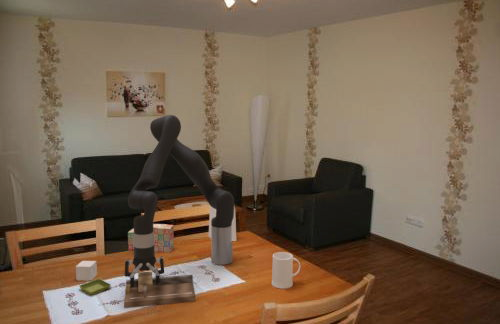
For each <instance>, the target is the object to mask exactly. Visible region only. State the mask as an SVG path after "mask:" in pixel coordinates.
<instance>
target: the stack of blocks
mask: <svg viewBox="0 0 500 324" xmlns="http://www.w3.org/2000/svg"><path fill="white" fill-rule="evenodd" d="M153 232H154V241H155V243H154V246H155V253H168V254H169V253H171V252H172V251H173V250H174V249H175V247H174V245H175V244H174V242H175V240H174V239H175V235H174V232H175V229H174V224H165V223H153ZM133 237H134V228H132V229H130V230H129V231H128V232H127V244H128V245H127V246H128V249H127V250H128V251H134V245H133ZM173 248H174V249H173Z"/></svg>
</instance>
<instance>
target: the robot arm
mask: <svg viewBox="0 0 500 324" xmlns="http://www.w3.org/2000/svg"><path fill="white" fill-rule="evenodd" d="M149 128H150V132H151V134H152V136H153V138H154V139H155V140H156V141H157V145H156V146H155V147H154V149H153V150H152V152H151V154H149V156H148V158H147V159H146V161H145V163H144V166H143V168H142V170H141V174H140V177H139V179H138V180H137V181H136V183H135V184H134V186H133V188H132V189H131V191H129V195H128V198H127V204H128V206H129V207H130V208H131V209H132V210H135V211H136V210H137V211H143V214H142V215H137V216H135V217H134V219H133V229H134V237H133V245H134V250H133V259H129V258H125V261H124V277H125V278H127V277H128V278H129V280H130V285H131V286H132V287H134V285H135V283H134V279H135V275H136V274H137V273H139V272H138V271H140V272H150V270H151V271H152V273H153V274H155V278H156V285H158V283H159V282H160V277H161V276H160V275H164V273H165V263H164V256H160V257H156V256H155V255H156V254H155V253H156V252H155V246H154V243H155V241H154V232H153V224H154V220H155V214H156V211H157V206H158V201H159V200H158V196H157V194H156V193H155V192H153V191H148V190H150V189H154V188H156V187H158V185H159V184H160V180H161V177H162V174H163V171H164V167H165V165H166V162H167V160H168V157H169V155H170V156H171V157H172V158H173V159H174V160H175V161H176V162H177V164H178V165H179V166H180V167H181V169H182V171H183V172H184V173H185V174H186V175H187V177H188V178H189V179H190V180H191V182H193V184H194V185H195V186H196V187H197V188H198V189H199V191H200V192H201V194H202V195H203V197H204V198H205V200H206V201H207V203H208V205H209V207H210V206H211V207H213V208H214V209H216V217H214V218H213V219H212V220H211V239H210V240H211V243H210V244H211V245H210V246H211V247H210V248H211V253H210V256H211V261H210V262H211V263H212V264H214V265H216V266H219V265H220V266H226V265H228V264H233V246H234V245H233V244H234V242H232V220H233V217H234V207H235V198H234V195H233V194H232V193H231V192H230V191H227V190H224V189H222V188H220V187H219V186H218V185H217V184H216V183H215V181H214V180H213V179H212V176H211V173H210V171H209V167H208V165H207V163H206V162H205V160H204V159H203V158H202V157H201V155H200V154H199V153H198V152H196V151H195V150H193V149H192V148H190V147H189V146H187V145H185V144H183V143H182V142H181V141H180V140H179V139H178V137H179V136H180V134H181V131H182V125H181V121H180V119H179V118H178V117H177V116H176V115H173V114H168V115H164V116H161V117H157V118H155V119H153V120H152V121H150V125H149ZM156 263H158V264H159V265H160V269H158V268H157V266H156ZM132 264H133V269H132V270H131V271H129V269H130V267H131V265H132Z"/></svg>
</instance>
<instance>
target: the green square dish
mask: <svg viewBox="0 0 500 324" xmlns="http://www.w3.org/2000/svg"><path fill="white" fill-rule="evenodd" d="M111 286H112V284H111V283H109V282H107V281H104V279H101V278H97V279H93V280H91V281H88V282H86V283H83V284H80V285H79V286H78V287H80V289H81V290H82V291H84V292H86V293H88V295H96V294H98V293H100V292H103V291H106V290H108V289H109V288H110V287H111Z"/></svg>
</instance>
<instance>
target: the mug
mask: <svg viewBox="0 0 500 324" xmlns="http://www.w3.org/2000/svg"><path fill="white" fill-rule="evenodd" d="M294 261H295V262H297V263H298V269H297V271H296V272H295V273H294V272H293V268H294V267H293V266H294V265H293V264H294ZM271 266H272V268H271V270H272V271H271V272H272V273H271V274H272V275H271V286H272V287H274V288H276V289H281V290H282V289H283V290H285V289H290V288H291V287H293V278H294V277H295V276H297V275H298V274H299V272H300V270H301V263H300V261H299V259H297V258H295V257H294V256H293V254H292V253H290V252H285V251H278V252H274V253H272V265H271Z"/></svg>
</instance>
